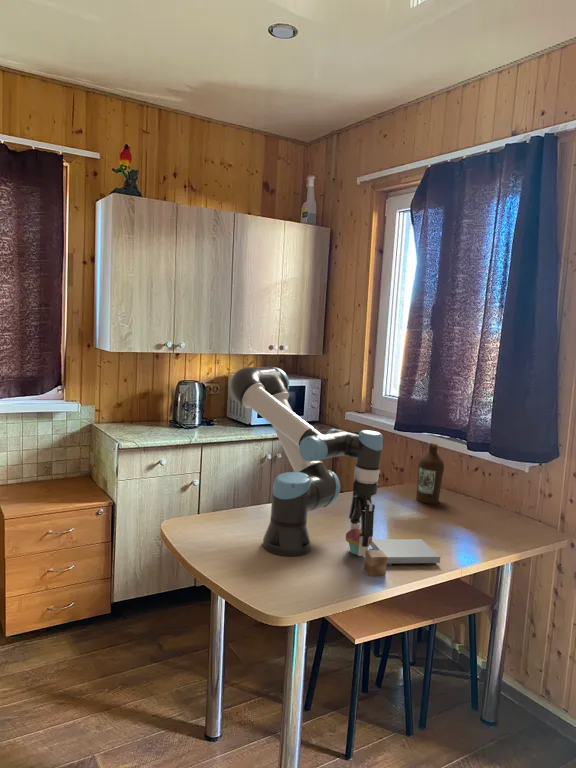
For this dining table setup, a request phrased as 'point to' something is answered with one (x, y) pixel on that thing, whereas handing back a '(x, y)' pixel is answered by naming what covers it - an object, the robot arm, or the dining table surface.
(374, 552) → the walnut block
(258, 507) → the dining table surface
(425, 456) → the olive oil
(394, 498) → the dining table surface
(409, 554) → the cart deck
